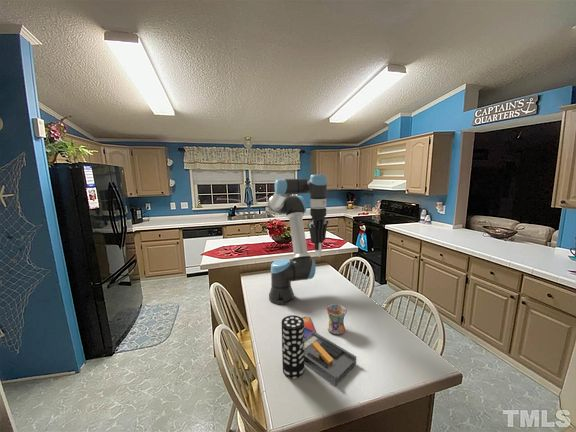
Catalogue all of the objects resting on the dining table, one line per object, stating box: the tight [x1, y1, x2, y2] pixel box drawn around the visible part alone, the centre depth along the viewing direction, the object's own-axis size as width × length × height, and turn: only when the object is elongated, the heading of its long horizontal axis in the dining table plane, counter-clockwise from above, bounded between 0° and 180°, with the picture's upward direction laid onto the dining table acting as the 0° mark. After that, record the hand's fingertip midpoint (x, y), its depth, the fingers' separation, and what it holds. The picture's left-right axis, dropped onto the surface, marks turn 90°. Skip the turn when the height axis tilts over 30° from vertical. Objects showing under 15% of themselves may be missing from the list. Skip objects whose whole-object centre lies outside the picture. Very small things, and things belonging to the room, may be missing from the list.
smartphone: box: [301, 316, 317, 339], centre depth 117 cm, size 7×15×1 cm, turn 8°
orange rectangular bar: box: [312, 341, 333, 365], centre depth 94 cm, size 9×2×1 cm, turn 44°
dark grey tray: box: [304, 331, 357, 387], centre depth 97 cm, size 22×14×4 cm, turn 44°
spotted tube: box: [281, 314, 305, 379], centre depth 90 cm, size 8×8×20 cm
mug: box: [326, 303, 347, 335], centre depth 115 cm, size 12×9×11 cm
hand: (318, 255), depth 117 cm, fingers closed
